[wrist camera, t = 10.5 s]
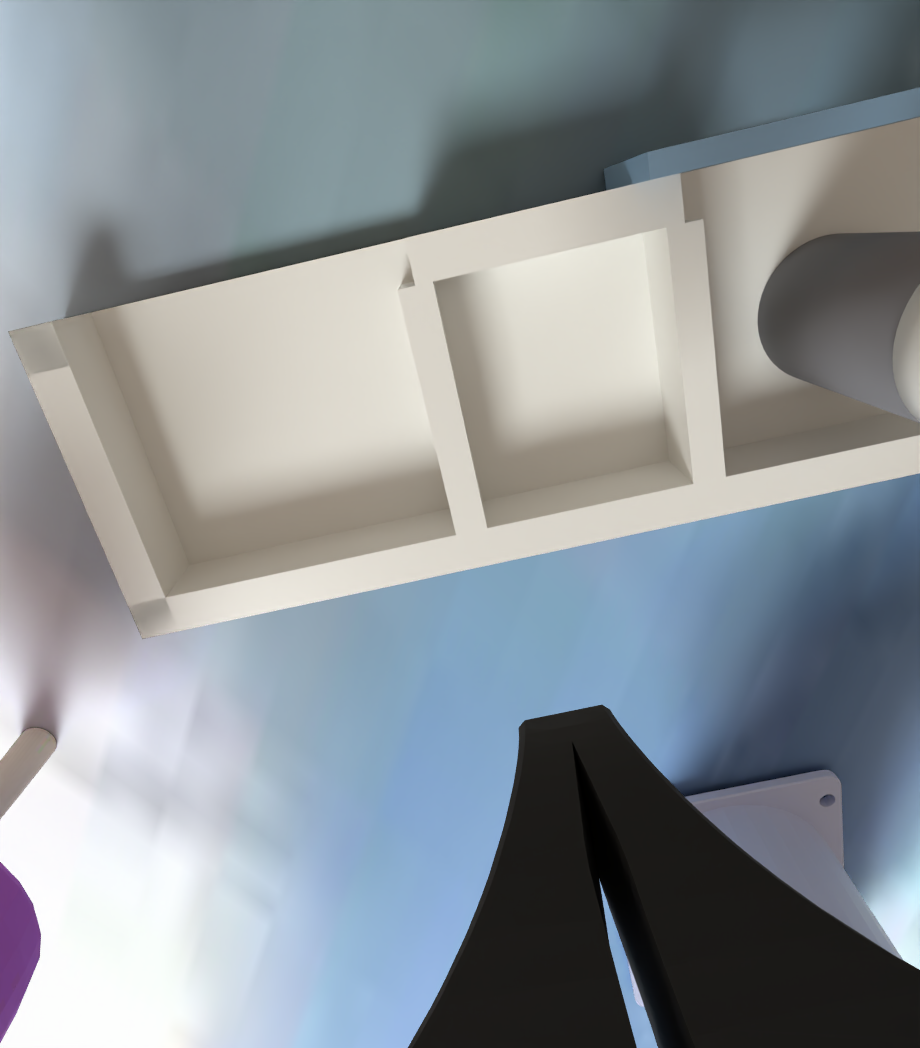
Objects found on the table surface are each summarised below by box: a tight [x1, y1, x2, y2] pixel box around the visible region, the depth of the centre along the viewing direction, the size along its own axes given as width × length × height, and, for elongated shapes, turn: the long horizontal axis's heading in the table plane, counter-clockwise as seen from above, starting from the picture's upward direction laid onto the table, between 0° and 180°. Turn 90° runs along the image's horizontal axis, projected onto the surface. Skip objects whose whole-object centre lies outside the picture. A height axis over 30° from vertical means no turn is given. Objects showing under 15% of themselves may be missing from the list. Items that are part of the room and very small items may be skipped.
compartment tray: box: [8, 87, 920, 639], centre depth 18 cm, size 8×24×4 cm, turn 102°
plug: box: [758, 231, 920, 423], centre depth 15 cm, size 4×4×7 cm
